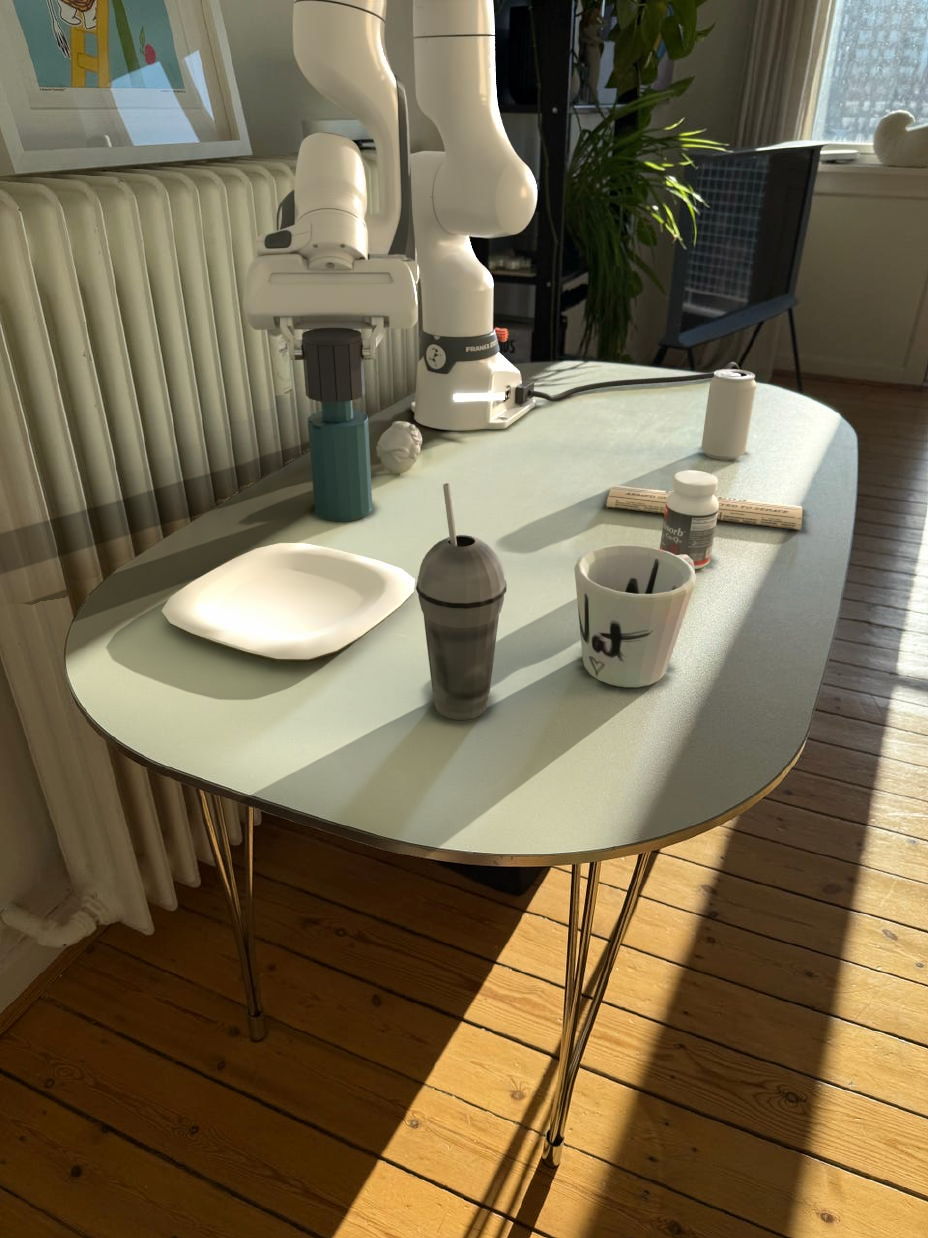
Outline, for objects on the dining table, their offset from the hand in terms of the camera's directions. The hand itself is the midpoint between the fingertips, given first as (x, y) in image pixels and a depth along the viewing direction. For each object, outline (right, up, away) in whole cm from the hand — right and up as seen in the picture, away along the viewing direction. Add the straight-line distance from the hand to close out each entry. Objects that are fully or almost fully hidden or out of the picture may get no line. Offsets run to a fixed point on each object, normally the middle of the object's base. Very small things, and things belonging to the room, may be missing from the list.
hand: (332, 357), depth 104 cm
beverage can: (+54, -6, +29) cm, 62 cm away
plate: (-2, -29, -12) cm, 32 cm away
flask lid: (0, -4, +3) cm, 5 cm away
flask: (0, -17, +10) cm, 19 cm away
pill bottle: (+40, -24, -2) cm, 47 cm away
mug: (+32, -34, -20) cm, 51 cm away
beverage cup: (+15, -38, -27) cm, 49 cm away
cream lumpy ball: (+6, -10, +22) cm, 25 cm away
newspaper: (+46, -17, +11) cm, 50 cm away
